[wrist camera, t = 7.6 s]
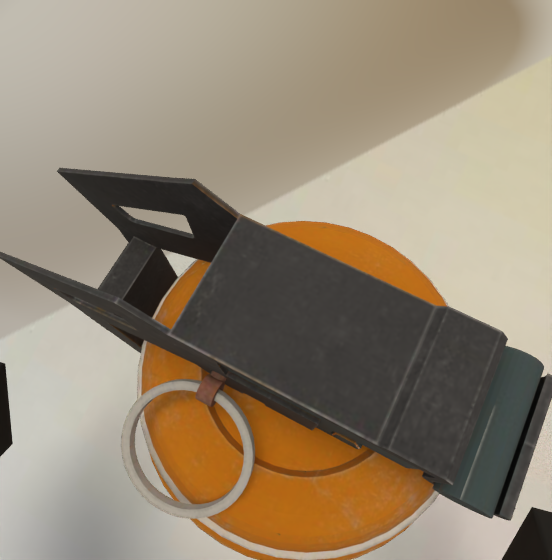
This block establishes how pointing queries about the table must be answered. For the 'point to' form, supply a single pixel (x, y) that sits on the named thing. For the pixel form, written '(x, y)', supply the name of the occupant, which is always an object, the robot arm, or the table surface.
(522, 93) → the table surface
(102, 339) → the table surface
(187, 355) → the canister
